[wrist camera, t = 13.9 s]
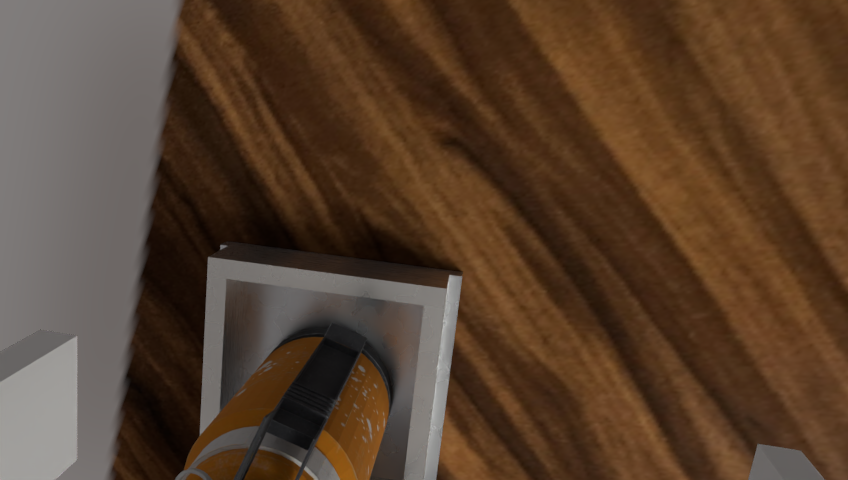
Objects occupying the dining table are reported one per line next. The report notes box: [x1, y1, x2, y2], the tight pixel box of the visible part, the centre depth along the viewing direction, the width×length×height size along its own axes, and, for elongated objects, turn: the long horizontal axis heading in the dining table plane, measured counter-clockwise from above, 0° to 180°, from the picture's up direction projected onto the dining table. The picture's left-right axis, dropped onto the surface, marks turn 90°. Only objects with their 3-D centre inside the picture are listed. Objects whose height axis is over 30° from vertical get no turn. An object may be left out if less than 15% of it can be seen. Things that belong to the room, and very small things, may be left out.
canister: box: [175, 323, 393, 480], centre depth 36 cm, size 9×11×20 cm
